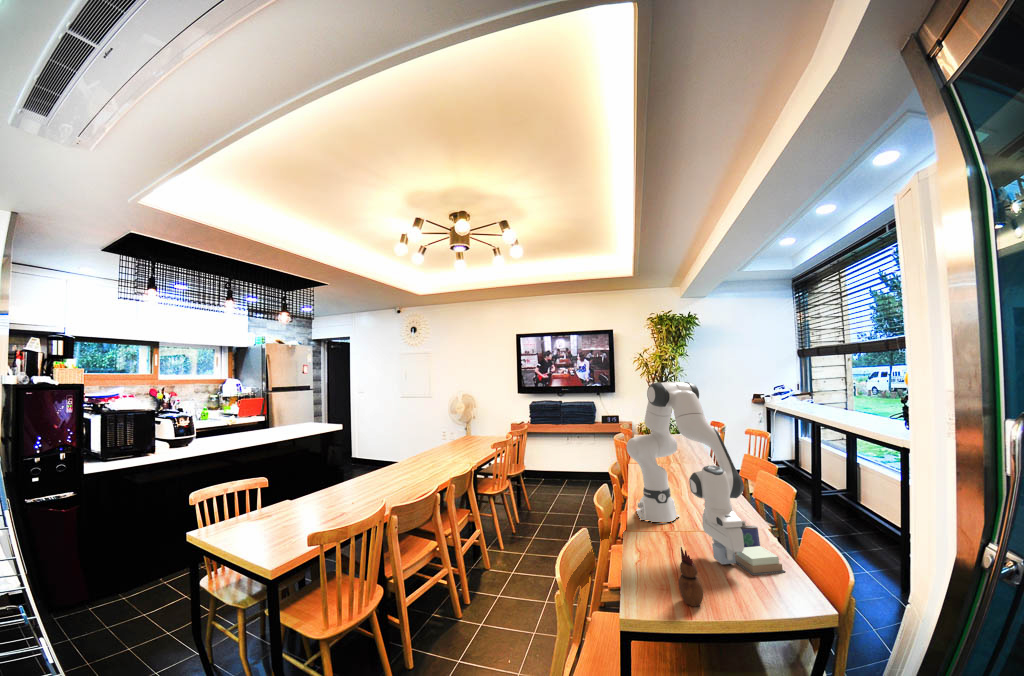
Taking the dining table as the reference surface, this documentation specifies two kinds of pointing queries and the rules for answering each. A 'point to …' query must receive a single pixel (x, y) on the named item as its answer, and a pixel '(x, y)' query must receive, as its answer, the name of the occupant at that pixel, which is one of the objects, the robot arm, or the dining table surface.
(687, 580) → the wooden figurine
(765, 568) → the plinth
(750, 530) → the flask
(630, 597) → the dining table surface
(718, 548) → the cube
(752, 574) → the slate mat
